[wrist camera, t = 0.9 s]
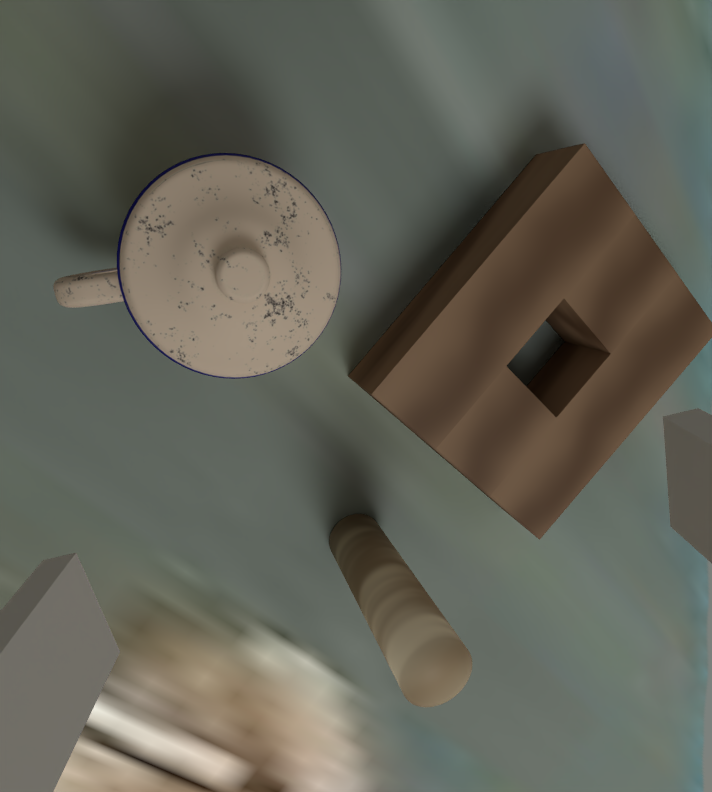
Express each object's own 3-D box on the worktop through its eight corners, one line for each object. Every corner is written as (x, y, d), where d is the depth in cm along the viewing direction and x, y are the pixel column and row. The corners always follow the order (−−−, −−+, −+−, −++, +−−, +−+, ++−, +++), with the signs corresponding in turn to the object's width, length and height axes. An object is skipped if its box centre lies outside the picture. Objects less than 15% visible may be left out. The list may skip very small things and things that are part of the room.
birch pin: (318, 545, 38) (386, 688, 26) (353, 504, 38) (437, 627, 26) (356, 571, 39) (437, 718, 27) (390, 531, 39) (486, 660, 27)
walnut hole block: (348, 376, 35) (371, 394, 31) (536, 154, 35) (584, 143, 31) (502, 509, 41) (539, 539, 37) (663, 321, 41) (717, 330, 37)
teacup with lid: (287, 166, 31) (347, 128, 20) (311, 329, 34) (376, 372, 23) (49, 191, 28) (-26, 163, 17) (98, 368, 31) (58, 437, 20)
